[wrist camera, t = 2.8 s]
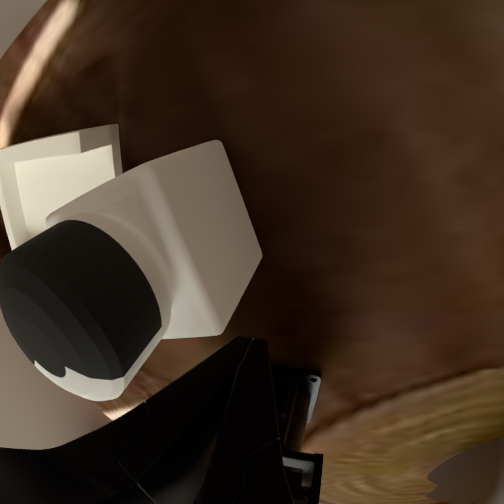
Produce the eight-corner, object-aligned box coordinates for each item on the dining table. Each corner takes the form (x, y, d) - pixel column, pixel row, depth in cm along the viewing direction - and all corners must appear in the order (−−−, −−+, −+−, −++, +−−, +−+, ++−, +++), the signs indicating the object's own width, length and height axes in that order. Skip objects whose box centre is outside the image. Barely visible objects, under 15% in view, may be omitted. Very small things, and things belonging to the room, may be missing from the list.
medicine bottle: (124, 178, 18) (-38, 266, 8) (222, 137, 15) (26, 213, 5) (167, 276, 21) (52, 406, 10) (265, 256, 18) (171, 440, 8)
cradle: (140, 284, 22) (113, 311, 19) (36, 260, 25) (11, 277, 22) (118, 123, 17) (78, 131, 13) (12, 144, 20) (-18, 154, 17)
